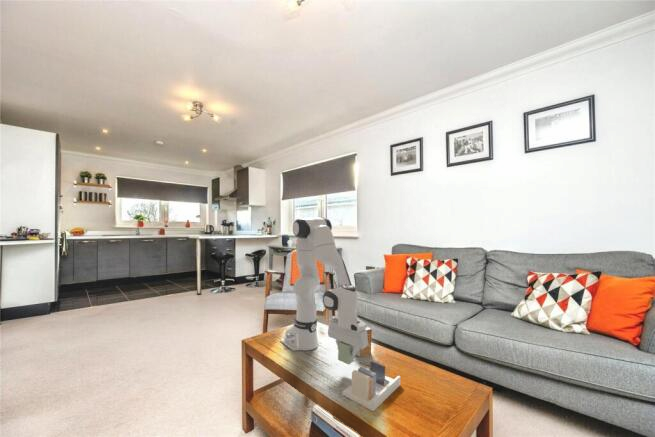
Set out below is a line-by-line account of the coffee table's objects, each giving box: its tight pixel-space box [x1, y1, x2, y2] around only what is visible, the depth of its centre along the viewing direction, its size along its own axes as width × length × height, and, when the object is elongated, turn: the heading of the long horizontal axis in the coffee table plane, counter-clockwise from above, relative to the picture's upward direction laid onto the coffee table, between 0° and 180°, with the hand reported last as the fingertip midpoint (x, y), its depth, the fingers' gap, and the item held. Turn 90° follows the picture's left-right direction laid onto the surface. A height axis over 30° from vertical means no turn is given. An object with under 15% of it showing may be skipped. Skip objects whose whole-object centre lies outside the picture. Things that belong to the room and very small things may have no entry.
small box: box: [355, 326, 373, 358], centre depth 141 cm, size 8×6×13 cm
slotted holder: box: [342, 360, 401, 412], centre depth 109 cm, size 14×22×10 cm, turn 139°
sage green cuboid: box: [337, 341, 355, 365], centre depth 121 cm, size 6×4×8 cm, turn 49°
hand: (346, 352), depth 121 cm, fingers closed on sage green cuboid, 6 cm apart
